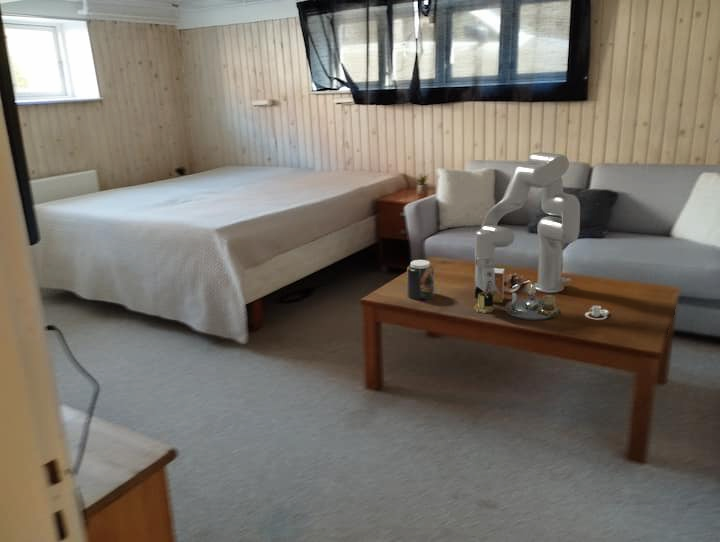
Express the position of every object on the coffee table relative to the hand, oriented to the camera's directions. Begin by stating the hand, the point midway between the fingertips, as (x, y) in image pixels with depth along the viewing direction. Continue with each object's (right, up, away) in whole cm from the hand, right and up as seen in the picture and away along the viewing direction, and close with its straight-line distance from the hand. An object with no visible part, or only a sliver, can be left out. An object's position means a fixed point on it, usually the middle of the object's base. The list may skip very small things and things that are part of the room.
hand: (483, 302), depth 240 cm
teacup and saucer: (+43, -6, -12) cm, 45 cm away
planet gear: (0, -3, +1) cm, 3 cm away
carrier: (+18, -3, -2) cm, 19 cm away
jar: (-23, +2, +20) cm, 31 cm away
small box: (+6, 0, +11) cm, 13 cm away
